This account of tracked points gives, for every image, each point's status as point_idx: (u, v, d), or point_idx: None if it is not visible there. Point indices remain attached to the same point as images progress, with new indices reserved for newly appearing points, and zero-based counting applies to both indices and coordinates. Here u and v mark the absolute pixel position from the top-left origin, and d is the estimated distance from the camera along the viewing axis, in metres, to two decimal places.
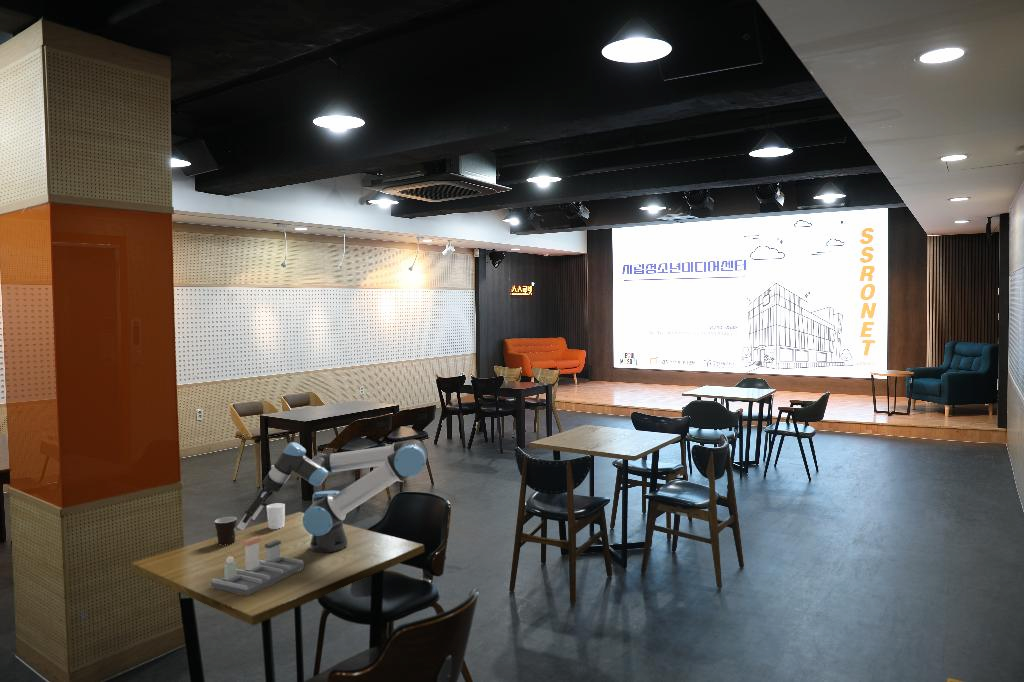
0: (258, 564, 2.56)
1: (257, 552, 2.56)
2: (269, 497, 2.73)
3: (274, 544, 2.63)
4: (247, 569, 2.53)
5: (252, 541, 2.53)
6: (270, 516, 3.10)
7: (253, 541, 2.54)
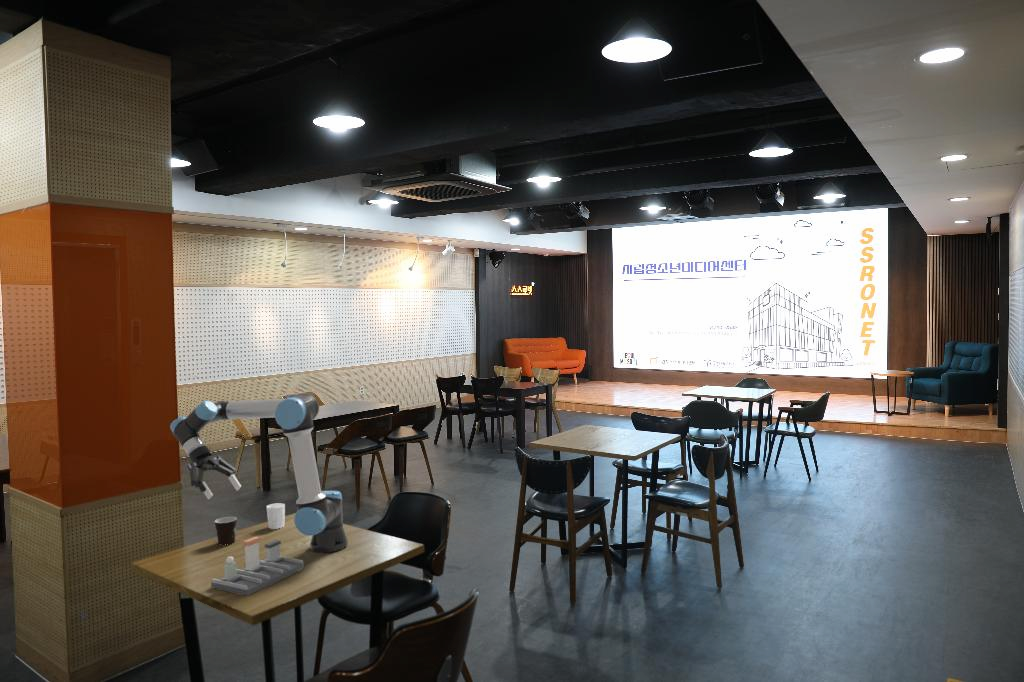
0: (258, 564, 2.56)
1: (257, 552, 2.56)
2: (216, 463, 2.73)
3: (274, 544, 2.63)
4: (247, 569, 2.53)
5: (252, 541, 2.53)
6: (270, 516, 3.10)
7: (253, 541, 2.54)
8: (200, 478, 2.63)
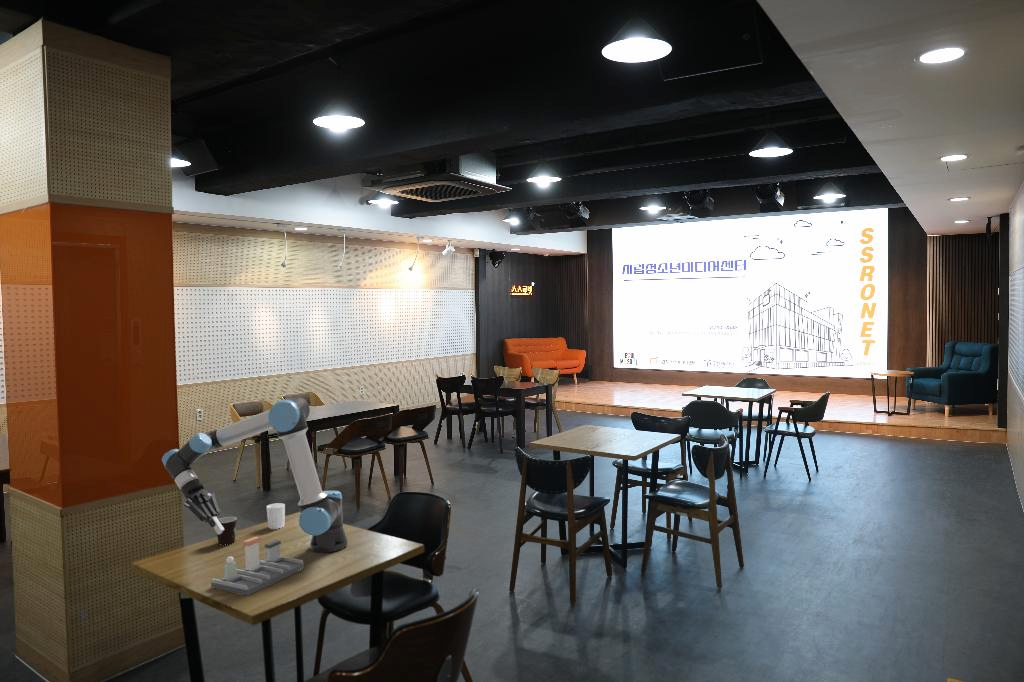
0: (258, 564, 2.56)
1: (257, 552, 2.56)
2: (205, 499, 2.66)
3: (274, 544, 2.63)
4: (247, 569, 2.53)
5: (252, 541, 2.53)
6: (270, 516, 3.10)
7: (253, 541, 2.54)
8: (207, 513, 2.62)
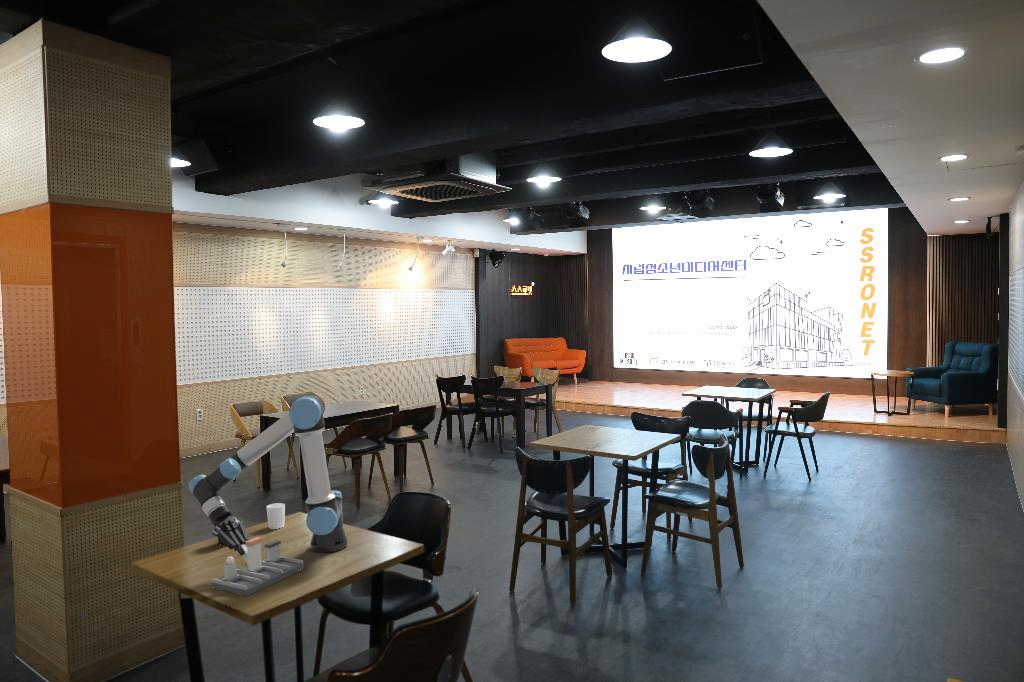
0: (260, 564, 2.56)
1: (259, 552, 2.55)
2: (233, 526, 2.59)
3: (274, 544, 2.63)
4: (249, 569, 2.52)
5: (254, 541, 2.53)
6: (270, 516, 3.10)
7: (255, 541, 2.53)
8: (236, 541, 2.56)
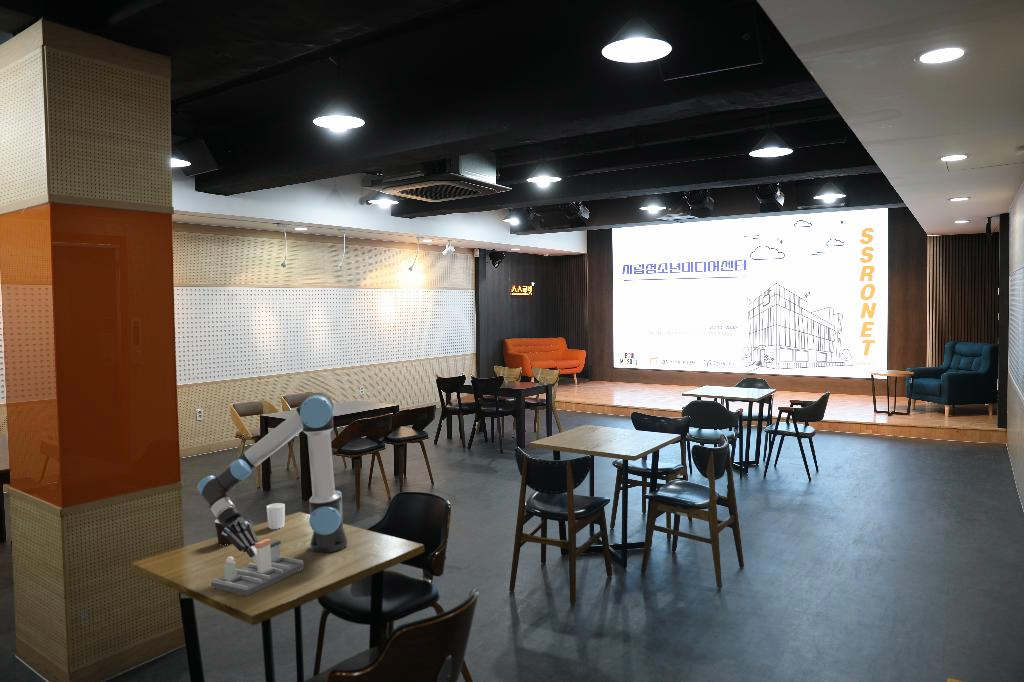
0: (270, 566, 2.54)
1: (269, 554, 2.53)
2: (243, 527, 2.57)
3: (274, 544, 2.63)
4: (259, 571, 2.50)
5: (264, 543, 2.51)
6: (270, 516, 3.10)
7: (265, 543, 2.51)
8: (246, 543, 2.54)
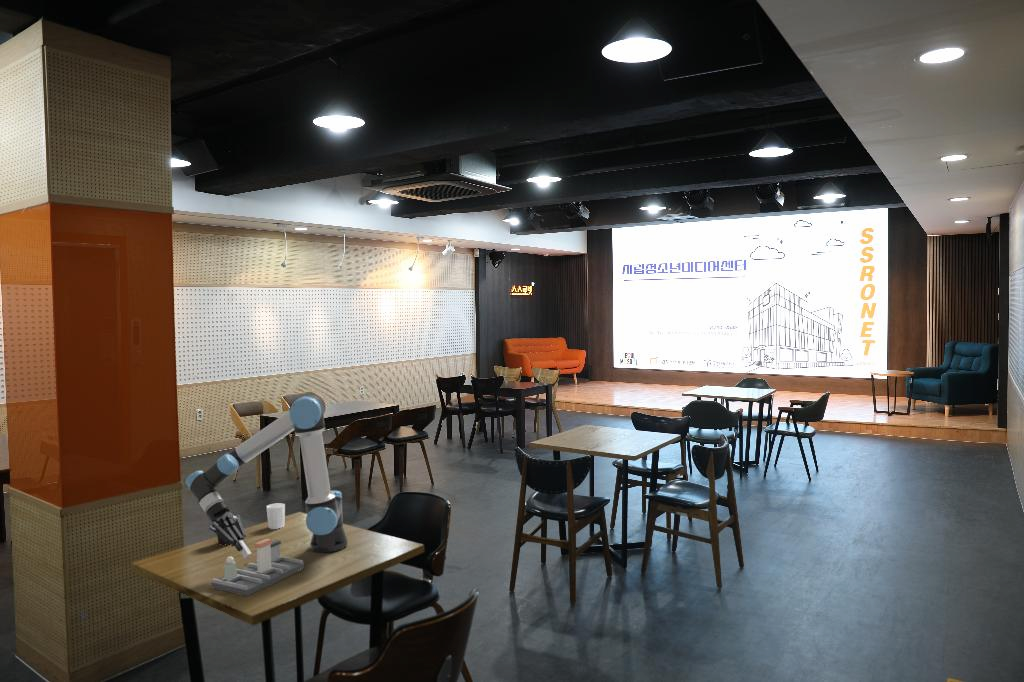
0: (270, 566, 2.54)
1: (269, 554, 2.53)
2: (231, 522, 2.60)
3: (274, 544, 2.63)
4: (259, 571, 2.50)
5: (264, 543, 2.51)
6: (270, 516, 3.10)
7: (265, 543, 2.51)
8: (234, 537, 2.56)
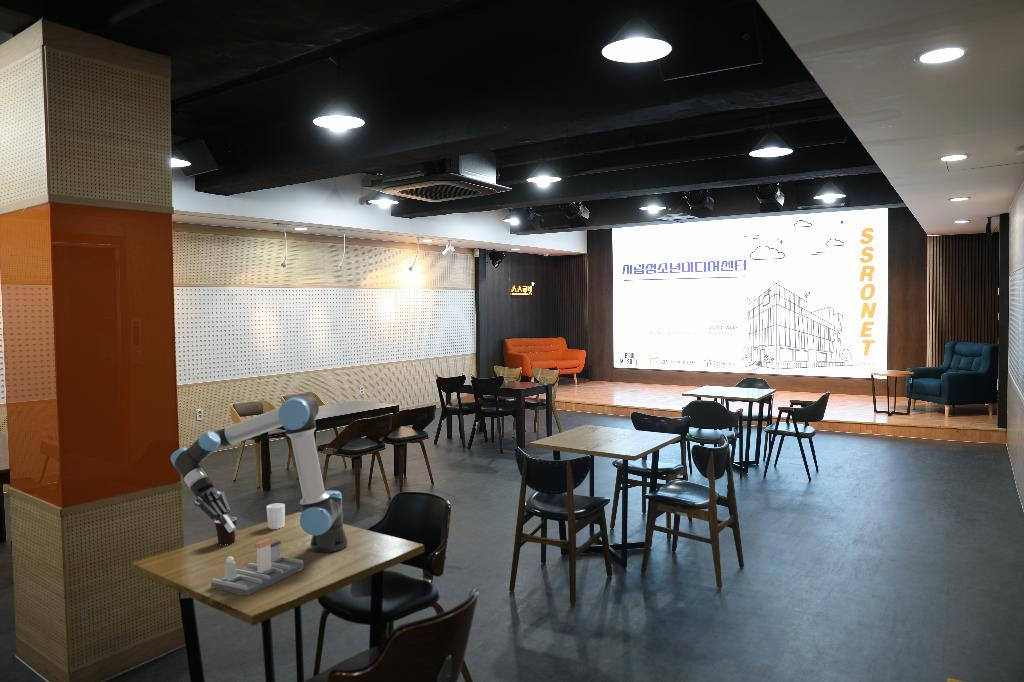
0: (270, 566, 2.54)
1: (269, 554, 2.53)
2: (215, 497, 2.65)
3: (274, 544, 2.63)
4: (259, 571, 2.50)
5: (264, 543, 2.51)
6: (270, 516, 3.10)
7: (265, 543, 2.51)
8: (218, 511, 2.61)
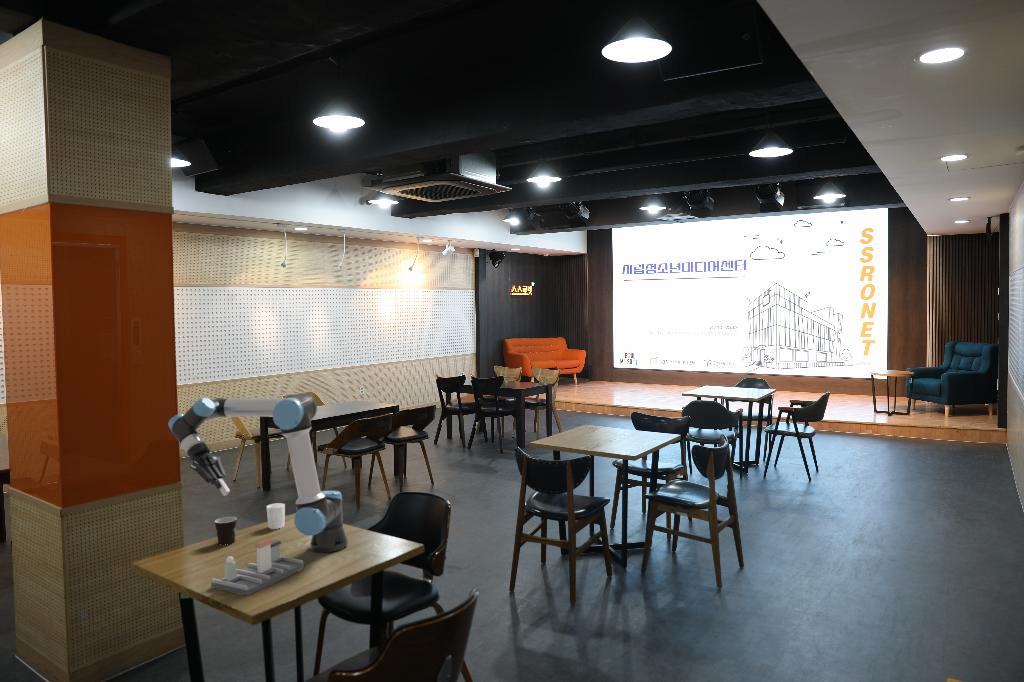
0: (270, 566, 2.54)
1: (269, 554, 2.53)
2: (211, 462, 2.71)
3: (274, 544, 2.63)
4: (259, 571, 2.50)
5: (264, 543, 2.51)
6: (270, 516, 3.10)
7: (265, 543, 2.51)
8: (213, 475, 2.67)
